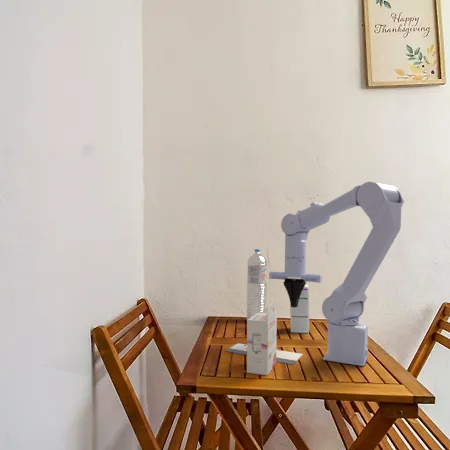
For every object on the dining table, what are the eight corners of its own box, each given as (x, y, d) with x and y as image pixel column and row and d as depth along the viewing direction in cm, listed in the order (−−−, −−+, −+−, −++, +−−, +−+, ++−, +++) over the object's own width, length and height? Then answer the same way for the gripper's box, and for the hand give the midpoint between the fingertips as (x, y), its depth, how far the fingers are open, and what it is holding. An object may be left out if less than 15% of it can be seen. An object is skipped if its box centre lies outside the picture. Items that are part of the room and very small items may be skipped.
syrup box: (309, 333, 122) (309, 286, 122) (289, 332, 122) (290, 285, 123) (308, 329, 127) (308, 284, 127) (289, 328, 128) (290, 283, 128)
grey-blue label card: (264, 347, 105) (264, 347, 105) (253, 356, 98) (253, 355, 98) (237, 343, 109) (237, 343, 109) (224, 351, 102) (224, 350, 102)
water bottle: (256, 317, 142) (257, 248, 143) (270, 321, 137) (271, 249, 138) (242, 320, 138) (243, 248, 139) (256, 324, 133) (257, 249, 133)
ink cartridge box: (256, 361, 94) (257, 299, 95) (276, 364, 93) (277, 301, 93) (245, 373, 86) (246, 305, 87) (267, 376, 85) (268, 307, 85)
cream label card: (303, 354, 100) (303, 353, 100) (292, 364, 92) (292, 364, 92) (269, 349, 104) (269, 348, 104) (257, 358, 96) (257, 358, 96)
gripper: (324, 258, 110) (323, 307, 110) (275, 255, 116) (274, 301, 116) (318, 259, 104) (318, 311, 103) (266, 256, 110) (265, 305, 110)
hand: (294, 306), depth 109 cm, fingers closed
